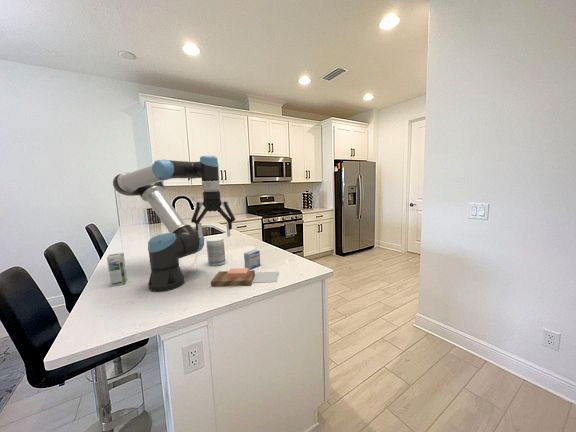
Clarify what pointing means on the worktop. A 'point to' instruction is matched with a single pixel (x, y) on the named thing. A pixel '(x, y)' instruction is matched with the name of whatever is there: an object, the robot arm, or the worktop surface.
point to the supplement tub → (215, 251)
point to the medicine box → (252, 259)
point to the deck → (232, 279)
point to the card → (238, 272)
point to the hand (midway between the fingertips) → (214, 236)
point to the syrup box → (117, 269)
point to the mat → (265, 277)
